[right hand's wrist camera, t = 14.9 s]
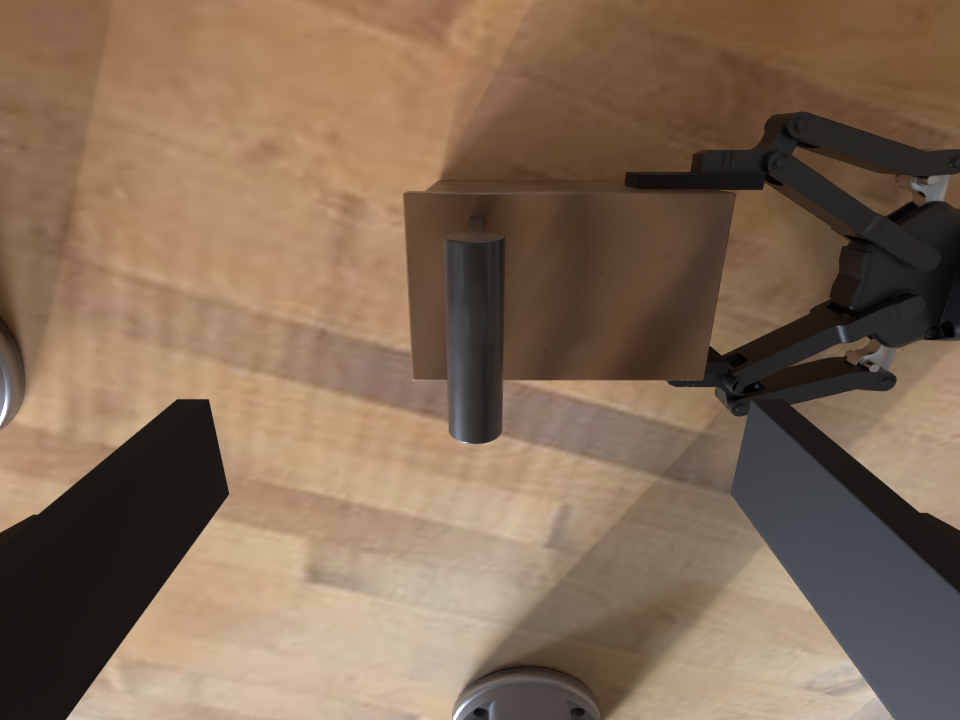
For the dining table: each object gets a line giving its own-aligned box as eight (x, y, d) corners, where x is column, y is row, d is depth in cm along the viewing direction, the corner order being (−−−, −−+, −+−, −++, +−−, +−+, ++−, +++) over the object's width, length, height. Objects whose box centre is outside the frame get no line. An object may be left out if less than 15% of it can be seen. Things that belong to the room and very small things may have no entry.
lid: (415, 372, 30) (388, 465, 21) (405, 191, 26) (368, 212, 17) (695, 372, 30) (784, 464, 21) (726, 191, 26) (849, 213, 17)
